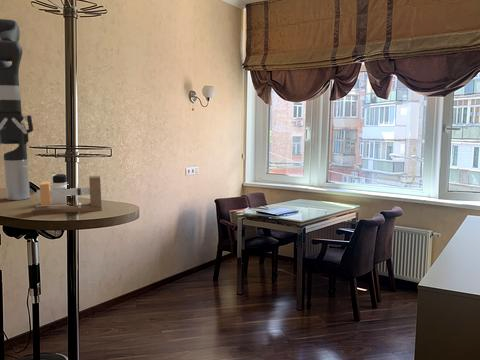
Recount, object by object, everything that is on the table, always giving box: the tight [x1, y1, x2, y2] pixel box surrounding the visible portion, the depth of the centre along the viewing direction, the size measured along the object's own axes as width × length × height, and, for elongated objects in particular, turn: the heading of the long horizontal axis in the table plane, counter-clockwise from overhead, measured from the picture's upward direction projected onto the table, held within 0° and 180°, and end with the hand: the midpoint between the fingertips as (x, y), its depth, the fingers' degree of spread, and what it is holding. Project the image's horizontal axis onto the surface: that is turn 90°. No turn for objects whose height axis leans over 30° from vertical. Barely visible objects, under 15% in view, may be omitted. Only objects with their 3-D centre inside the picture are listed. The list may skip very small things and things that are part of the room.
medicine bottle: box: [50, 173, 68, 205], centre depth 191 cm, size 7×7×12 cm
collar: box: [39, 180, 52, 206], centre depth 173 cm, size 8×3×8 cm, turn 19°
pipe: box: [36, 187, 90, 198], centre depth 176 cm, size 2×19×2 cm, turn 109°
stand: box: [33, 175, 103, 215], centre depth 176 cm, size 10×24×12 cm, turn 109°
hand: (12, 144), depth 164 cm, fingers open, 8 cm apart
